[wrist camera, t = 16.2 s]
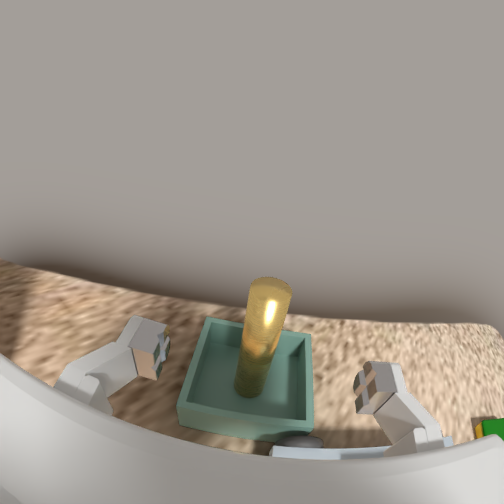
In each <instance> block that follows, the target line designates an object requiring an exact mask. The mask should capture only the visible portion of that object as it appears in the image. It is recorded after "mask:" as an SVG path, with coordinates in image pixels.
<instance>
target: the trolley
mask: <svg viewBox="0 0 504 504" xmlns="http://www.w3.org/2000/svg"><path fill="white" fill-rule="evenodd" d="M441 432H442V431H441ZM442 437H443V435H442ZM443 441H444V446H445V447H449V446H453V441H452V437H451V436H448V437H443ZM389 447H390V446H383V447H369V448H346V449H323V441H322V440H321V439H320V438H317V437H312V436H290V437H285V438H281V439H279V440H277V441H276V442H275V446H273V447H272V449H271V450H270V452H269V456H272V457H282V458H295V459H316V460H348V459H368V458H381V457H384V455H383V452H384V451H385V450H386V449H388V448H389Z"/></svg>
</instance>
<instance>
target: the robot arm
mask: <svg viewBox="0 0 504 504" xmlns="http://www.w3.org/2000/svg"><path fill="white" fill-rule="evenodd" d="M169 332H170V330H169V325H166V324H163V323H159V322H156V321H153V320H150V319H147V318H143V317H140V316H137V315H133V316H132V317H131V318H130V320H129V321H128V323H127V325H126V326H125V328H124V329H123V331H122V333H121V334H120V336H119V338H118V339H117V341H116V343H115V342H111V343H109V344H107V345H105V346H103V347H101V348H99V349H97V350H95V351H93V352H91V353H89V354H87V355H85V356H83V357H81V358H79V359H77V360H75V361H73V362H71V363H69V364H67V366H66V368H65V369H64V371H63V372H62V374H61V376H60V377H59V379H58V380H57V382H56V384H55V385H54V387H52V386H50V385H48V384H47V383H45V382H43V381H42V380H40V379H38V378H37V377H35V376H33V375H32V374H30V373H29V372H27V371H25V370H24V369H22V368H21V367H19V366H18V365H16V364H15V363H14V362H12V361H11V360H9V359H8V358H7V357H5V356H4V355H3V354H1V353H0V504H504V441H503V440H502V439H501V438H500V437H499V436H498V435H496V434H491V435H488V436H485V437H482V438H478V439H475V440H472V441H468V442H465V443H461V444H457V445H453V446H449V447H445V446H444V441H443V437H442V432H441V428H440V424H439V423H438V422H437V421H436V420H435V419H434V418H433V417H432V416H431V415H430V414H429V412H428V411H427V410H426V409H425V408H424V407H423V406H422V405H421V404H420V403H419V402H418V401H417V400H416V398H415V397H414V396H413V395H412V394H411V393H408V392H407V388H406V385H405V381H404V377H403V374H402V370H401V367H400V365H399V364H398V363H388V362H376V361H368V362H366V363H365V364H364V366H363V369H364V370H362V371H360V372H358V374H357V375H356V377H355V380H354V385H353V389H354V393H355V394H356V396H357V399H356V400H355V405H356V413H357V414H374V415H373V416H374V417H375V419H376V420H377V422H378V423H379V425H380V427H381V428H382V430H383V431H384V433H385V434H386V436H387V437H388V439H389V440H390V442H391V443H392V446H390V447H389V448H388V449H386V450H385V451H384V452H383V455H384V457H381V458H368V459H348V460H316V459H295V458H282V457H272V456H263V455H255V454H248V453H242V452H236V451H230V450H225V449H220V448H215V447H210V446H206V445H201V444H197V443H193V442H189V441H185V440H181V439H178V438H174V437H171V436H167V435H164V434H161V433H158V432H155V431H151V430H148V429H145V428H143V427H140V426H137V425H134V424H131V423H129V422H126V421H124V420H121V419H118V418H116V417H114V416H112V413H113V409H112V406H111V405H110V403H109V401H108V399H107V398H108V397H109V396H111V395H112V394H113V393H115V392H116V391H118V390H119V389H121V388H122V387H123V386H125V385H126V384H128V383H129V382H130V381H132V380H133V379H134V378H136V377H137V376H138V375H139V376H142V377H146V378H149V379H153V380H156V381H157V380H158V377H159V375H160V372H161V370H162V362H163V361H165V360H166V358H167V355H168V352H169V348H170V338H169V337H168V334H169Z"/></svg>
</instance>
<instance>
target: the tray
mask: <svg viewBox="0 0 504 504" xmlns="http://www.w3.org/2000/svg"><path fill="white" fill-rule="evenodd" d="M243 328H244V324H243V323H238V322H232V321H227V320H222V319H217V318H212V317H206V320H205V323H204V326H203V328H202V331H201V334H200V337H199V340H198V343H197V346H196V348H195V351H194V354H193V357H192V360H191V363H190V366H189V369H188V372H187V375H186V377H185V380H184V383H183V386H182V389H181V392H180V395H179V398H178V401H177V404H176V409H177V414H178V420H179V425H181V426H185V427H189V428H193V429H198V430H202V431H207V432H211V433H216V434H221V435H227V436H232V437H238V438H244V439H251V440H259V441H267V442H276V441H277V440H279V439H281V438H285V437H290V436H308V434H309V433H310V432H311V431H312V429H313V428H314V400H313V368H312V347H311V334H306V333H299V332H292V331H285V330H282V331H281V334H280V338H279V341H278V344H277V348H276V351H275V354H274V357H273V361H272V364H271V367H270V370H269V373H268V376H267V379H266V382H265V386H264V389H263V391H262V393H261V394H260V395H259V396H257V397H255V398H245V397H242V396H240V395H239V394H238V393H237V392H236V391H235V389H234V380H235V374H236V368H237V363H238V357H239V351H240V345H241V339H242V333H243Z"/></svg>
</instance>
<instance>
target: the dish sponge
mask: <svg viewBox="0 0 504 504" xmlns="http://www.w3.org/2000/svg"><path fill="white" fill-rule="evenodd" d="M475 431H476V437H477V439H478V438H482V437H485V436H488V435H491V434H496V435H498V436H499V437H500V438H501V439H502V440H503V441H504V418H500V419H491V420H483V421H482V422H481V423H480V424H478V425H477V426H476V427H475Z"/></svg>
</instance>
